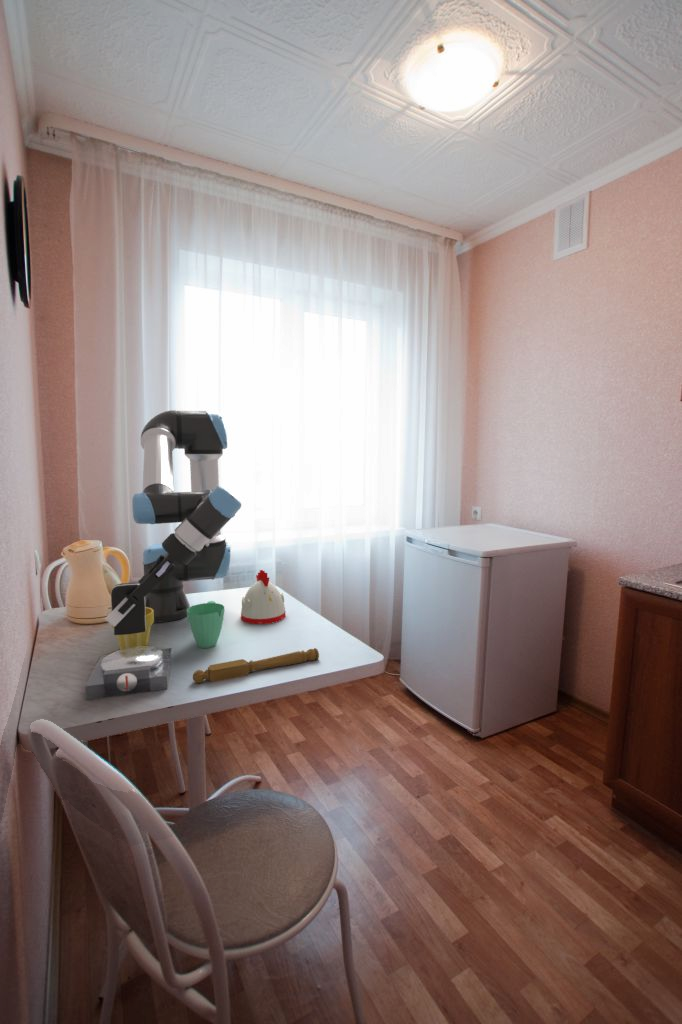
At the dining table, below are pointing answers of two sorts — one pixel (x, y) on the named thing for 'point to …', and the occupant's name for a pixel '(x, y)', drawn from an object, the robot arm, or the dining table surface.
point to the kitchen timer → (262, 602)
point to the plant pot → (137, 638)
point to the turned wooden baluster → (251, 666)
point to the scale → (130, 672)
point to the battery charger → (135, 616)
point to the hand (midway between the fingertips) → (112, 619)
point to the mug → (206, 623)
